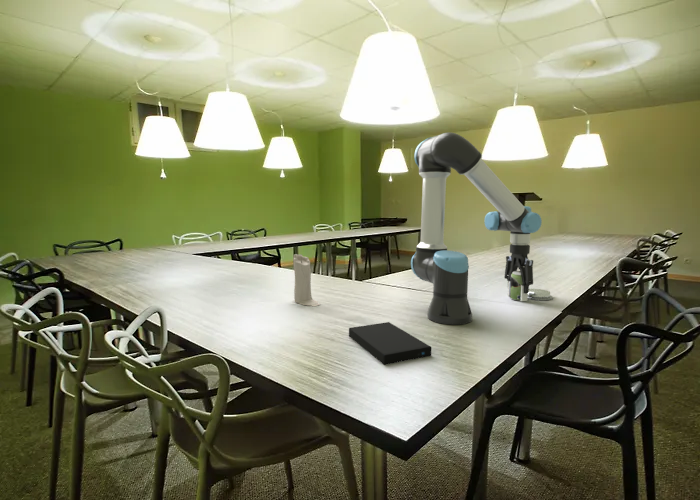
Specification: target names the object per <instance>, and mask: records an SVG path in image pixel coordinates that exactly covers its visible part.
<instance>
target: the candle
mask: <svg viewBox="0 0 700 500" xmlns="http://www.w3.org/2000/svg"><path fill="white" fill-rule="evenodd" d="M293 270H294V290H293V291H294V292H293V293H294V295H293V296H294V297H293V298H294V302H295V303H296V304H298V305H299V304H300V305H303V306H308V307H317V306H320V305H321V304H320V303H319V302H318V301H317V300H315V299H313V296H312V287H311V286H312V284H311V283H312V282H311V280H312V279H311V277H312V276H311V274H312V271H311V260H310V259H309V256H303V254H297V253H295V254H293Z"/></svg>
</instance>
